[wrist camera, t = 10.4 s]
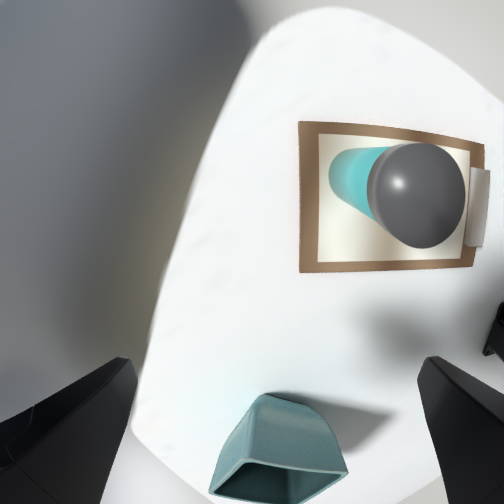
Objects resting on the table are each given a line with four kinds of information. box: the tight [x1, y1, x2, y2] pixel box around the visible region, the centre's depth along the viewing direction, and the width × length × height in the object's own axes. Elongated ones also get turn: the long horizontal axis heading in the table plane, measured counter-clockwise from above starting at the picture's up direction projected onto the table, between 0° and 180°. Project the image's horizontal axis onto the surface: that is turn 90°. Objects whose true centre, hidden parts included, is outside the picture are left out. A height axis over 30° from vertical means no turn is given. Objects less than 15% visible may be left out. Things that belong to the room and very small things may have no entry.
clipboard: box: [298, 121, 490, 273], centre depth 17 cm, size 15×10×1 cm, turn 92°
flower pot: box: [208, 394, 349, 504], centre depth 21 cm, size 9×9×9 cm
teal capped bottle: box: [328, 143, 466, 249], centre depth 13 cm, size 4×4×9 cm
